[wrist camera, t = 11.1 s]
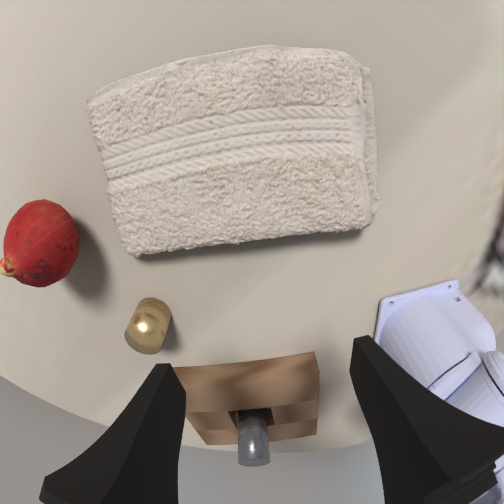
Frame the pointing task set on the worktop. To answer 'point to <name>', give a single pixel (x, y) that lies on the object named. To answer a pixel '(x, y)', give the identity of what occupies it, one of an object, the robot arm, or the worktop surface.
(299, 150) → the washcloth
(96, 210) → the worktop surface
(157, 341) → the short brass pin
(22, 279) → the onion
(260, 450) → the long steel pin
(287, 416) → the walnut hole plate
